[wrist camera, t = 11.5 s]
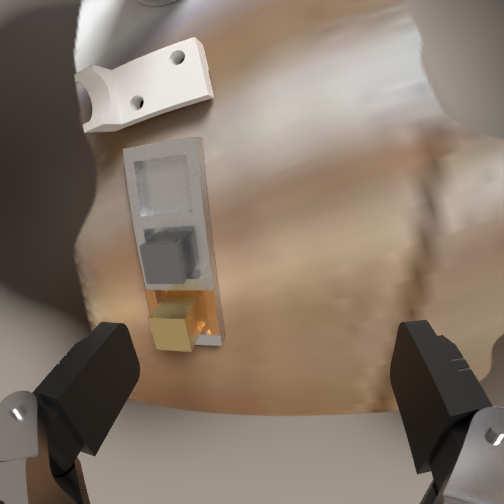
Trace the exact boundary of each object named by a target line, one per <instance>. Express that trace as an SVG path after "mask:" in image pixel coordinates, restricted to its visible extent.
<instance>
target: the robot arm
mask: <svg viewBox="0 0 504 504" xmlns="http://www.w3.org/2000/svg"><path fill="white" fill-rule="evenodd" d="M138 1H139V2H140V3H142V4H144V5H148V6H162V5H167V4H170V3H173V2H175V1H177V0H138ZM139 375H140V365H139V361H138V358H137V355H136V352H135V349H134V346H133V343H132V340H131V337H130V333H129V330H128V328H127V326H126V325H125V324H122V323H110V322H101V323H100V324H99V325H98V326H97V327H96V328H95V329H94V330H93V331H92V332H91V334H89V336H88V337H86V338H84V339H83V340H81V341H80V342H78V343H76V344H75V345H74V346H73V347H72V349H71V350H70V351H69V352H68V353H67V356H64V357H63V359H62V360H61V361H60V364H57V365H56V366H55V367H54V369H53V370H52V371H51V372H50V373H49V374H48V375H47V377H46V378H45V379H44V380H43V381H42V382H41V384H40V385H39V386H38V387H37V388H36V389H35V391H34V392H33V393H31V392H28V391H18V392H14V393H12V394H10V395H8V396H7V397H5V398H4V399H3V400H2V401H1V403H0V504H90V501H89V497H88V493H87V489H86V485H85V481H84V476H83V472H82V467H81V463H80V461H79V459H78V458H77V456H78V454H79V453H80V451H81V452H84V453H87V454H90V455H93V456H96V454H97V452H98V450H99V448H100V446H101V445H102V443H103V441H104V439H105V438H106V436H107V434H108V432H109V430H110V429H111V427H112V425H113V423H114V422H115V420H116V418H117V416H118V414H119V413H120V411H121V409H122V408H123V406H124V404H125V402H126V401H127V399H128V397H129V395H130V394H131V392H132V390H133V389H134V387H135V385H136V383H137V382H138V379H139ZM390 380H391V385H392V389H393V392H394V395H395V398H396V401H397V404H398V407H399V411H400V414H401V417H402V420H403V424H404V427H405V431H406V434H407V438H408V441H409V445H410V449H411V452H412V456H413V459H414V464H415V468H416V472H417V474H420V473H425V472H429V471H431V472H432V475H433V481H432V482H431V484H430V485H429V487H428V489H427V491H426V493H425V495H424V497H423V499H422V501H421V502H420V504H504V408H502V407H493V406H492V404H491V402H490V401H489V399H488V397H487V396H486V394H485V392H484V390H483V388H482V387H481V385H480V383H479V382H478V380H477V378H476V377H475V375H474V373H473V372H472V370H471V369H469V365H468V364H467V362H466V360H465V359H464V360H463V356H462V354H461V353H460V351H459V349H458V348H457V346H456V345H455V344H454V343H452V342H451V341H450V340H448V339H447V338H446V337H444V336H443V335H441V336H437V335H436V333H435V332H434V330H433V329H432V327H431V326H430V324H429V323H428V321H427V320H420V321H410V322H402V323H400V325H399V328H398V332H397V337H396V343H395V347H394V352H393V357H392V361H391V367H390Z"/></svg>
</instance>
